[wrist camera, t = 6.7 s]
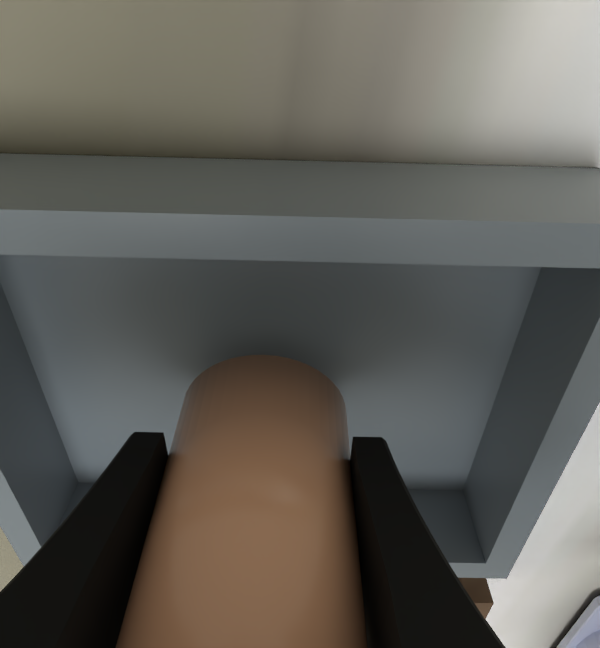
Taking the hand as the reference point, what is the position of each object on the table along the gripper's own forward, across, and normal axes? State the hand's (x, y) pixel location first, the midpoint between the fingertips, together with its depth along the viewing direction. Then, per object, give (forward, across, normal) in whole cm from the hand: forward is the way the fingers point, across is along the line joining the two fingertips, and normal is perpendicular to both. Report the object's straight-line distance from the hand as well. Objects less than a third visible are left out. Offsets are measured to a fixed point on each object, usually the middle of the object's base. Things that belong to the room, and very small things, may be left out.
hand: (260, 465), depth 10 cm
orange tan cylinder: (+2, 0, 0) cm, 2 cm away
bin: (+3, 0, 0) cm, 3 cm away
